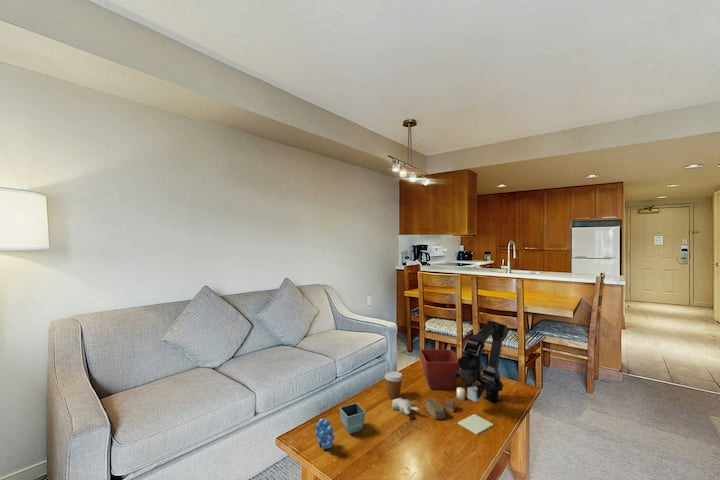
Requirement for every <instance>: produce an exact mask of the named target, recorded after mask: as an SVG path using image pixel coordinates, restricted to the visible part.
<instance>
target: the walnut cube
mask: <svg viewBox="0 0 720 480" xmlns="http://www.w3.org/2000/svg"><path fill="white" fill-rule="evenodd" d="M456 405H457V402H456V400H453V399H450V398H447V399H446V400H445V401H444V408H445V411H448V412H451V413H454V412H455V411H456V409H457V407H456Z"/></svg>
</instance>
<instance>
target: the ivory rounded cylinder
mask: <svg viewBox="0 0 720 480" xmlns="http://www.w3.org/2000/svg"><path fill="white" fill-rule="evenodd" d="M465 393H466V391H465V388H464V387H462V386H461V387H459V386H458V387H456V400H458V401H465V396H466V394H465Z"/></svg>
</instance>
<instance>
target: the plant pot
mask: <svg viewBox="0 0 720 480" xmlns="http://www.w3.org/2000/svg"><path fill="white" fill-rule="evenodd" d="M420 358H421V363H422V369H423V373H424V377H425V380H426V382H427V385H428V387H429V389H430V390H446V391H447V390H448V391H449V390H454V389H455V388H454V387H455V385H456V383H457V380H458V377H456V376H455V373H456V371H457V370H460V369H461V368H460V367H459V365H458V360H459V358H458V356H457V355H456V353H455V352H454V350H452V349H420Z"/></svg>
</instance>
